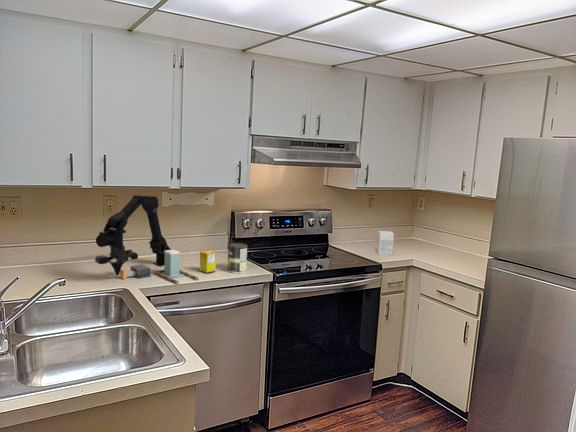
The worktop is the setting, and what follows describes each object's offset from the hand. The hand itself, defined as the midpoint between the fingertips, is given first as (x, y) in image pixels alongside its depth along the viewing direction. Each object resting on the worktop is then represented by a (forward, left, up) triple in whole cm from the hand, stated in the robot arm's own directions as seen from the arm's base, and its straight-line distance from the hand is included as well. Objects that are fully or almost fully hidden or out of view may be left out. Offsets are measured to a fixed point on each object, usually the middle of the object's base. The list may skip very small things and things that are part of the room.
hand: (117, 275), depth 223 cm
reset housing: (0, +12, -2) cm, 12 cm away
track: (+12, +25, -2) cm, 28 cm away
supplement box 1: (+13, +43, -2) cm, 45 cm away
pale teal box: (+8, +25, -2) cm, 26 cm away
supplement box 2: (+42, +160, -2) cm, 165 cm away
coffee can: (+20, +57, -2) cm, 60 cm away
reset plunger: (0, +6, -2) cm, 6 cm away
